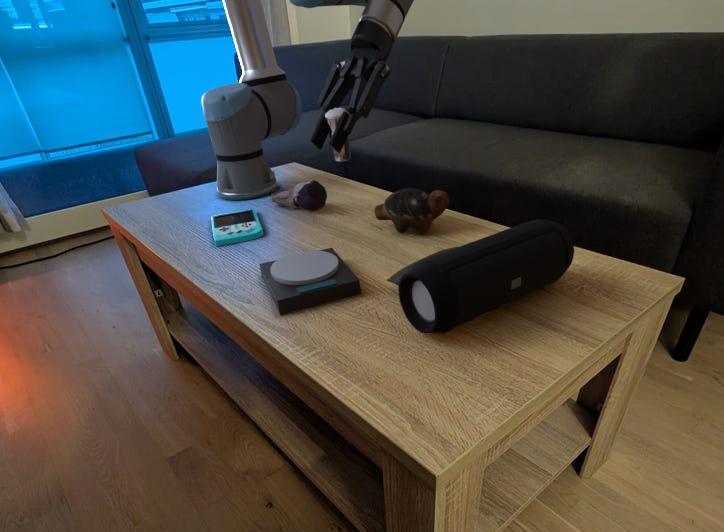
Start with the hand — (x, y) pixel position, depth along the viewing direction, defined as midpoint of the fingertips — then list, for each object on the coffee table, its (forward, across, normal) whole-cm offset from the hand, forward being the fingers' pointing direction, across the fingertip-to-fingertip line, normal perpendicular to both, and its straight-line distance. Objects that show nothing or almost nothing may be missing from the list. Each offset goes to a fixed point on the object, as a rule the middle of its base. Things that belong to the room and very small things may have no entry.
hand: (325, 146), depth 86 cm
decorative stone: (+17, -33, -4) cm, 37 cm away
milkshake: (0, 0, -5) cm, 5 cm away
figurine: (+10, +13, -12) cm, 20 cm away
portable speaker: (+18, -43, -3) cm, 47 cm away
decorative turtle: (+6, -16, -15) cm, 23 cm away
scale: (+26, -16, +5) cm, 31 cm away
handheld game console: (+21, +16, -1) cm, 26 cm away
